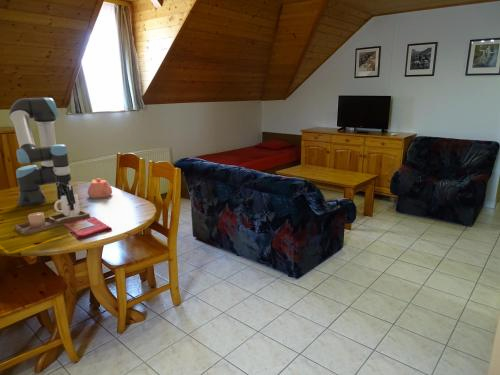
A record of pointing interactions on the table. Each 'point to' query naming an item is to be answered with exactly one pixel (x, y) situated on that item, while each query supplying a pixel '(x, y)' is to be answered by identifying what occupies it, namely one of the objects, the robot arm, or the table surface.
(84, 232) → the dish towel
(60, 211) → the mug
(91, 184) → the teapot
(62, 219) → the caddy
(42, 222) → the peach rounded cylinder
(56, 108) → the robot arm
